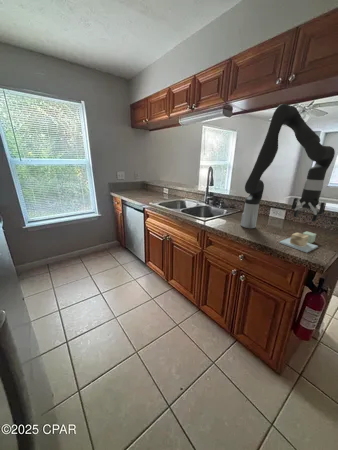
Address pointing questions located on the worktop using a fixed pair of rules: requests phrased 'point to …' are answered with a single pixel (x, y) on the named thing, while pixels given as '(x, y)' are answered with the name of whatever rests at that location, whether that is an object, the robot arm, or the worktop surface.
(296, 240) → the maple block
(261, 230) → the worktop surface
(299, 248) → the board
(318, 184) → the robot arm
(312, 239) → the sage block
